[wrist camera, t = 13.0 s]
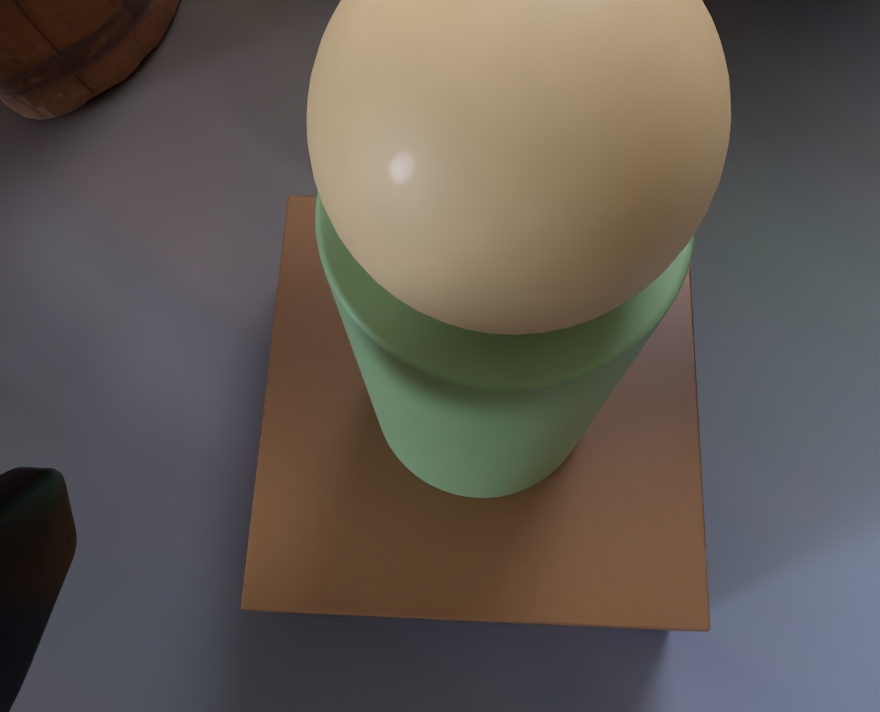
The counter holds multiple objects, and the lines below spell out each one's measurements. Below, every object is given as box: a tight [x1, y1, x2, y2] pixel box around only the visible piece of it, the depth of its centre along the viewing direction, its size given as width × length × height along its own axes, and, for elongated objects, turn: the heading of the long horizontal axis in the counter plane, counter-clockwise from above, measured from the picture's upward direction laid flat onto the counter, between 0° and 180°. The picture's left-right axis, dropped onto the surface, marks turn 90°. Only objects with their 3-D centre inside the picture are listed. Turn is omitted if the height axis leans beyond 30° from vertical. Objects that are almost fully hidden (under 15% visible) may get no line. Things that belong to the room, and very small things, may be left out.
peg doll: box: [307, 0, 731, 498], centre depth 12 cm, size 4×4×12 cm
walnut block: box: [241, 196, 710, 632], centre depth 18 cm, size 9×9×3 cm
